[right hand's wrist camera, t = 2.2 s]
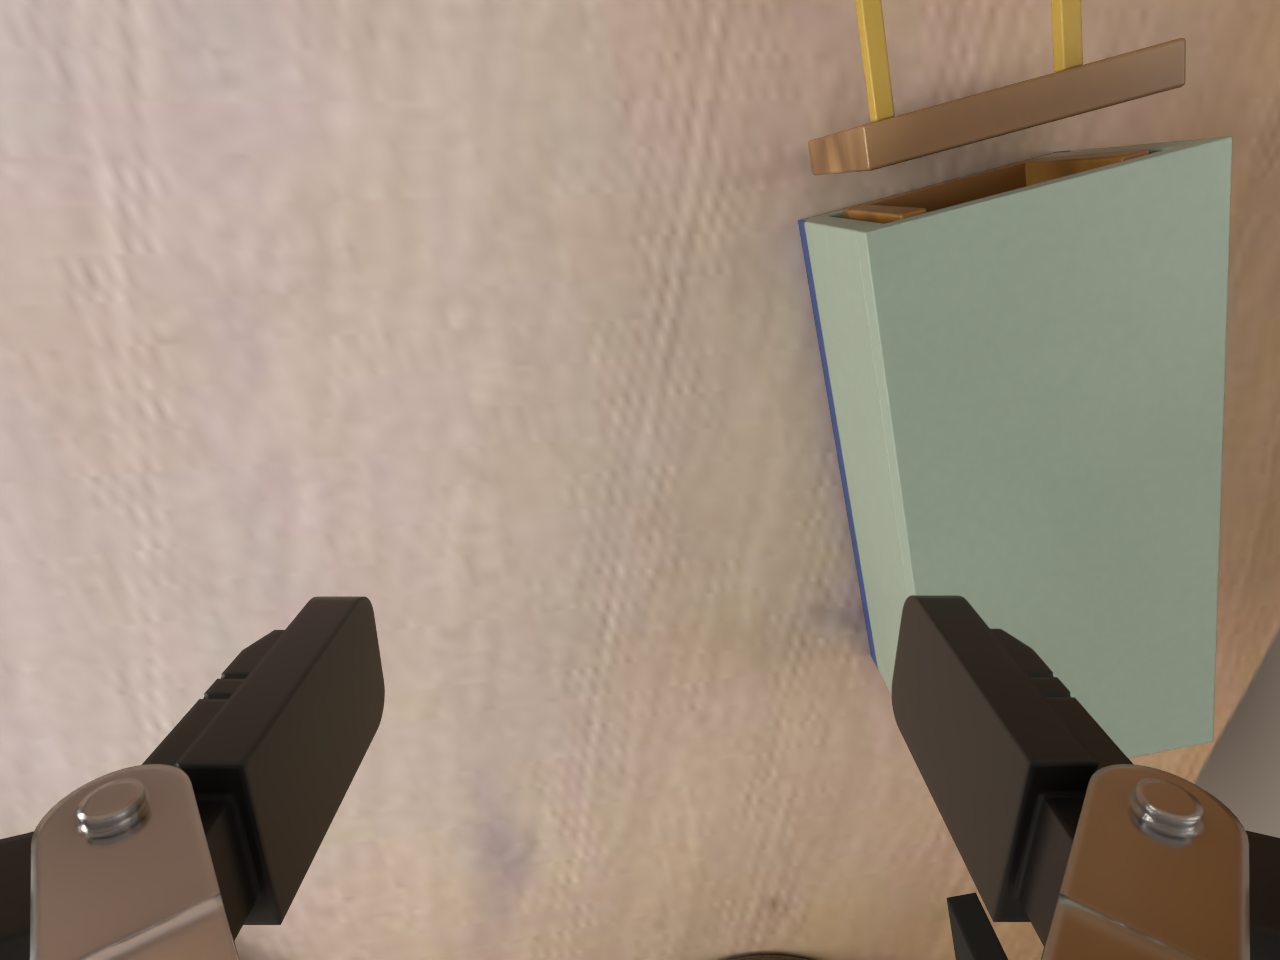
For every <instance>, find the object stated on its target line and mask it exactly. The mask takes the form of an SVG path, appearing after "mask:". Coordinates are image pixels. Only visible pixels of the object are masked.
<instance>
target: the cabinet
mask: <svg viewBox="0 0 1280 960" xmlns="http://www.w3.org/2000/svg"><path fill="white" fill-rule="evenodd" d="M1232 144H1233V138H1232V137H1220V138H1209V139H1199V140H1188V141H1177V142H1166V143H1155V144H1144V145H1133V146H1122V147H1111V148H1100V149H1089V150H1078V151H1061V152H1054V153H1052V154H1048V155H1044V156H1041V157H1037V158H1047V157H1059V156H1072V155H1084V154H1096V153H1109V152H1121V151H1133V150H1149V154H1148V155H1144V156H1141V157H1137V158H1133V159H1129V160H1125V161H1122V162H1118V163H1114V164H1110V165H1106V166H1102V167H1099V168H1095V169H1091V170H1087V171H1083V172H1080V173H1076V174H1072V175H1068V176H1064V177H1061V178H1057V179H1053V180H1049V181H1045V182H1042V183H1038V184H1034V185H1030V186H1026V187H1023V188H1019V189H1015V190H1011V191H1007V192H1004V193H1000V194H996V195H992V196H988V197H985V198H981V199H977V200H973V201H969V202H966V203H962V204H958V205H954V206H950V207H946V208H943V209H939V210H935V211H931V212H927V213H924V214H920V215H916V216H912V217H908V218H905V219H901V220H897V221H893V222H889V223H886V224H882V223H875V222H867V221H860V220H852V219H844V216H843V209H841V210H837V211H834V212H830V213H826V214H822V215H819V216H815V217H811V218H807V219H804V220H798V223H799V229H800V235H801V241H802V247H803V253H804V259H805V265H806V270H807V276H808V282H809V288H810V294H811V300H812V306H813V312H814V318H815V324H816V330H817V336H818V342H819V348H820V354H821V360H822V366H823V372H824V378H825V384H826V390H827V395H828V401H829V407H830V413H831V419H832V425H833V431H834V437H835V443H836V449H837V455H838V461H839V467H840V473H841V479H842V485H843V491H844V497H845V503H846V509H847V515H848V520H849V526H850V532H851V538H852V544H853V550H854V556H855V562H856V568H857V574H858V580H859V586H860V592H861V598H862V604H863V610H864V616H865V622H866V628H867V634H868V640H869V645H870V651H871V657H872V659H873V661H874V663H875V665H876V666H877V668H878V669H879V671H880V673H881V675H882V677H883V679H884V681H885V683H886V685H887V687H888V689H889V691H890V693H891V695H892V679H893V672H894V665H895V658H896V651H897V644H898V637H899V630H900V623H901V616H902V610H903V606H904V603H905V601H906V599H907V598H908V597H909V596H911V595H959V596H962V597H964V598H965V599H966V600H967V601H968V602H969V603H970V605H971V606H972V607H973V608H974V610H975V611H976V612H977V613H978V615H979V616H980V617H981V618H982V619H983V621H984V622H985V623H986V624H987V626H988V627H989V628H990V629H1002V630H1004V631H1005V632H1007V633H1008V634H1010V635H1012V636H1013V637H1015V638H1016V639H1018V640H1019V641H1021V642H1023V643H1024V644H1026V645H1027V646H1029V647H1030V648H1032V649H1033V650H1034V651H1035V652H1036V653H1037V654H1038V656H1039V657H1040V658H1041V659H1042V660H1043V661H1044V662H1045V664H1046V665H1047V666H1048V667H1049V668H1050V669H1051V671H1052V672H1053V676H1054V677H1058V679H1059V680H1060V681H1061V682H1062V683H1063V684H1064V685H1065V687H1066V688H1067V689H1068V690H1069V691H1070V695H1071V697H1075V698H1076V699H1077V700H1078V701H1079V703H1080V704H1081V705H1082V706H1083V707H1084V708H1085V709H1086V711H1087V712H1088V713H1089V714H1090V715H1091V716H1092V718H1093V719H1094V720H1095V721H1096V722H1097V723H1098V724H1099V726H1100V727H1101V728H1102V729H1103V730H1104V731H1105V732H1106V734H1107V735H1108V736H1109V737H1110V738H1111V739H1112V740H1113V742H1114V743H1115V744H1116V745H1117V746H1118V747H1119V748H1120V750H1121V751H1122V752H1123V753H1124V754H1125V755H1126V756H1127V758H1133V757H1138V756H1143V755H1148V754H1153V753H1158V752H1163V751H1169V750H1174V749H1179V748H1184V747H1189V746H1194V745H1199V744H1204V743H1209V742H1213V730H1214V699H1215V668H1216V637H1217V607H1218V576H1219V545H1220V514H1221V483H1222V452H1223V421H1224V391H1225V360H1226V329H1227V298H1228V267H1229V236H1230V206H1231V175H1232ZM1033 159H1034V158H1033ZM1029 160H1030V159H1029ZM1025 161H1026V160H1025ZM1022 162H1023V161H1022ZM1018 163H1019V162H1018ZM1014 164H1015V163H1014ZM1010 165H1011V164H1010ZM1007 166H1008V165H1007ZM1003 167H1004V166H1003ZM999 168H1000V167H999ZM995 169H996V168H995ZM992 170H993V169H992ZM988 171H989V170H988ZM984 172H985V171H984ZM980 173H981V172H980ZM973 175H974V174H973ZM969 176H970V175H969ZM965 177H966V176H965ZM958 179H959V178H958ZM954 180H955V179H954ZM950 181H951V180H950ZM946 182H947V181H946ZM943 183H944V182H943ZM939 184H940V183H939ZM935 185H936V184H935ZM931 186H932V185H931ZM928 187H929V186H928ZM924 188H925V187H924ZM920 189H921V188H920ZM916 190H917V189H916ZM913 191H914V190H913ZM909 192H910V191H909ZM905 193H906V192H905ZM901 194H902V193H901ZM894 196H895V195H894ZM890 197H891V196H890ZM886 198H887V197H886ZM879 200H880V199H879ZM875 201H876V200H875ZM871 202H872V201H871ZM867 203H868V202H867ZM864 204H865V203H864ZM860 205H861V204H860ZM856 206H857V205H856ZM852 207H853V206H852ZM849 208H850V207H849ZM845 209H846V208H845Z"/></svg>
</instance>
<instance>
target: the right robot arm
mask: <svg viewBox="0 0 1280 960" xmlns="http://www.w3.org/2000/svg"><path fill="white" fill-rule="evenodd" d="M384 695H385V690H384V679H383V672H382V666H381V659H380V652H379V645H378V638H377V631H376V625H375V618H374V612H373V607H372V604H371V602H370V600H369V599H368V598H367V597H314V598H312V599H311V600H310V601H309V602H308V603H307V604H306V605H305V607H304V608H303V609H302V610H301V611H300V613H299V614H298V615H297V616H296V618H295V619H294V620H293V621H292V622H291V624H290V625H289V626H288V627H287V628H286V630H274V631H272V632H271V633H269V634H268V635H266V636H264V637H263V638H261V639H260V640H258V641H257V642H255V643H253V644H252V645H250V646H249V647H247V648H245V649H244V650H242V652H241V653H240V654H239V655H238V656H237V657H236V658H235V659H234V661H233V662H232V663H231V664H230V665H229V666H228V667H227V669H226V670H225V671H224V672H223V673H222V677H221V679H217V680H216V681H215V682H214V683H213V684H212V686H211V687H210V688H209V689H208V690H207V691H206V692H205V694H204V699H199V700H198V701H197V703H196V704H195V705H194V706H193V707H192V708H191V709H190V711H189V712H188V713H187V714H186V715H185V716H184V717H183V719H182V720H181V721H180V722H179V723H178V724H177V725H176V726H175V728H174V729H173V730H172V731H171V732H170V733H169V734H168V736H167V737H166V738H165V739H164V740H163V741H162V742H161V744H160V745H159V746H158V747H157V748H156V749H155V750H154V751H153V753H152V754H151V755H150V756H149V757H148V758H147V759H146V761H145V762H144V763H143V764H142V765H139V766H133V767H129V768H125V769H121V770H118V771H115V772H112V773H109V774H107V775H104V776H102V777H99V778H97V779H95V780H93V781H91V782H89V783H87V784H85V785H83V786H81V787H80V788H78V789H77V790H75V791H73V792H72V793H70V794H69V795H67V796H66V797H65V798H63V799H62V800H61V801H59V802H58V803H57V804H56V805H55V806H54V807H53V808H51V809H50V811H49V812H48V813H47V814H46V815H45V816H44V817H43V818H42V820H41V821H40V823H39V824H38V825H37V827H36V829H35V831H34V832H30V833H27V834H22V835H18V836H13V837H9V838H5V839H0V960H239V957H238V954H237V950H236V946H235V943H234V940H235V939H236V937H237V935H238V933H239V931H240V929H241V928H242V926H243V925H281V923H282V921H283V919H284V917H285V915H286V913H287V911H288V909H289V907H290V905H291V903H292V901H293V899H294V897H295V895H296V893H297V891H298V889H299V887H300V885H301V883H302V881H303V879H304V877H305V875H306V873H307V871H308V869H309V867H310V865H311V863H312V861H313V859H314V856H315V854H316V852H317V850H318V848H319V846H320V844H321V842H322V840H323V838H324V836H325V834H326V832H327V830H328V828H329V826H330V824H331V822H332V820H333V818H334V816H335V814H336V812H337V810H338V808H339V806H340V804H341V802H342V800H343V798H344V796H345V794H346V792H347V790H348V788H349V786H350V784H351V782H352V780H353V778H354V776H355V774H356V772H357V770H358V768H359V766H360V764H361V762H362V760H363V758H364V755H365V753H366V751H367V749H368V747H369V745H370V743H371V741H372V739H373V737H374V735H375V733H376V731H377V729H378V727H379V724H380V721H381V717H382V713H383V707H384ZM892 705H893V711H894V715H895V719H896V722H897V725H898V727H899V730H900V732H901V734H902V736H903V738H904V740H905V742H906V744H907V746H908V748H909V750H910V752H911V754H912V756H913V758H914V760H915V762H916V764H917V766H918V768H919V771H920V773H921V775H922V777H923V779H924V781H925V783H926V785H927V787H928V789H929V791H930V793H931V795H932V797H933V799H934V801H935V803H936V805H937V807H938V809H939V811H940V813H941V815H942V818H943V820H944V822H945V824H946V826H947V828H948V830H949V832H950V834H951V836H952V838H953V840H954V842H955V844H956V846H957V848H958V850H959V852H960V854H961V856H962V858H963V860H964V863H965V865H966V867H967V869H968V871H969V873H970V875H971V877H972V879H973V881H974V883H975V885H976V887H977V889H978V891H979V893H980V895H981V897H982V899H983V901H984V903H985V905H986V908H987V910H988V912H989V914H990V916H991V918H992V920H993V922H1031V923H1032V925H1033V927H1034V929H1035V931H1036V932H1037V934H1038V936H1039V938H1040V940H1041V942H1042V944H1043V945H1044V950H1043V954H1042V957H1041V960H1280V838H1276V837H1272V836H1268V835H1263V834H1259V833H1254V832H1250V831H1246V830H1245V829H1244V827H1243V826H1242V824H1241V823H1240V821H1239V820H1238V818H1237V817H1236V816H1235V815H1234V814H1233V813H1232V812H1231V811H1230V809H1229V808H1227V807H1226V806H1225V805H1224V804H1223V803H1222V802H1221V801H1219V800H1218V799H1217V798H1215V797H1214V796H1212V795H1211V794H1210V793H1208V792H1207V791H1205V790H1203V789H1202V788H1200V787H1199V786H1197V785H1195V784H1193V783H1191V782H1189V781H1187V780H1185V779H1183V778H1181V777H1178V776H1176V775H1173V774H1171V773H1168V772H1165V771H1162V770H1159V769H1155V768H1151V767H1147V766H1141V765H1134V764H1133V763H1132V762H1131V761H1130V760H1129V759H1128V758H1127V756H1126V755H1125V754H1124V753H1123V752H1122V751H1121V750H1120V748H1119V747H1118V746H1117V745H1116V744H1115V743H1114V742H1113V740H1112V739H1111V738H1110V737H1109V736H1108V735H1107V734H1106V732H1105V731H1104V730H1103V729H1102V728H1101V727H1100V726H1099V724H1098V723H1097V722H1096V721H1095V720H1094V719H1093V718H1092V716H1091V715H1090V714H1089V713H1088V712H1087V711H1086V709H1085V708H1084V707H1083V706H1082V705H1081V704H1080V703H1079V701H1078V700H1077V699H1076V698H1075V697H1071V695H1070V691H1069V690H1068V689H1067V688H1066V687H1065V685H1064V684H1063V683H1062V682H1061V681H1060V680H1059V679H1058V677H1054V676H1053V672H1052V671H1051V669H1050V668H1049V667H1048V666H1047V665H1046V664H1045V662H1044V661H1043V660H1042V659H1041V658H1040V657H1039V656H1038V654H1037V653H1036V652H1035V651H1034V650H1033V649H1032V648H1030V647H1029V646H1027V645H1026V644H1024V643H1023V642H1021V641H1019V640H1018V639H1016V638H1015V637H1013V636H1012V635H1010V634H1008V633H1007V632H1005V631H1004V630H1002V629H990V628H989V627H988V626H987V624H986V623H985V622H984V621H983V619H982V618H981V617H980V616H979V615H978V613H977V612H976V611H975V610H974V608H973V607H972V606H971V605H970V603H969V602H968V601H967V600H966V599H965V598H964V597H962V596H959V595H911V596H909V597H908V598H907V599H906V601H905V603H904V606H903V610H902V616H901V623H900V630H899V637H898V644H897V651H896V658H895V665H894V672H893V679H892Z"/></svg>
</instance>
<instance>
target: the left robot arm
mask: <svg viewBox="0 0 1280 960" xmlns="http://www.w3.org/2000/svg"><path fill="white" fill-rule="evenodd" d="M947 903H948V910H949V916H950V923H951V930H952V936H953V943H954V950H955V956H956V960H1008V958H1007V956H1006V954H1005V952H1004V950H1003V948H1002V946H1001V944H1000V942H999V940H998V938H997V936H996V934H995V932H994V930H993V928H992V925H991V923H990V921H989V919H988V917H987V915H986V913H985V911H984V909H983V907H982V905H981V903H980V901H979V899H978V897H977V895H976V893H971V894H966V895H960V896H955V897H950V898H947ZM728 960H808V959H804V958H799V957H791V956H781V955H755V956H745V957H738V958H733V959H728Z"/></svg>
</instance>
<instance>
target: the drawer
mask: <svg viewBox="0 0 1280 960" xmlns="http://www.w3.org/2000/svg"><path fill="white" fill-rule="evenodd" d="M855 2H856V10H857V18H858V25H859V33H860V41H861V49H862V57H863V64H864V72H865V80H866V88H867V96H868V103H869V111H870V119H871V122H872V123H870V124H867V125H863V126H860V127H856V128H853V129H849V130H846V131H842V132H839V133H835V134H832V135H828V136H825V137H821V138H818V139H814V140H811V141H809V142H808V147H809V153H810V159H811V166H812V172H813V175H824V174H835V173H847V172H858V171H870V170H874V169H878V168H882V167H885V166H889V165H893V164H896V163H900V162H904V161H908V160H911V159H915V158H919V157H922V156H926V155H930V154H934V153H937V152H941V151H945V150H948V149H952V148H956V147H960V146H963V145H967V144H971V143H974V142H978V141H982V140H986V139H989V138H993V137H997V136H1000V135H1004V134H1008V133H1011V132H1015V131H1019V130H1023V129H1026V128H1030V127H1034V126H1037V125H1041V124H1045V123H1049V122H1052V121H1056V120H1060V119H1063V118H1067V117H1071V116H1075V115H1078V114H1082V113H1086V112H1089V111H1093V110H1097V109H1101V108H1104V107H1108V106H1112V105H1115V104H1119V103H1123V102H1127V101H1130V100H1134V99H1138V98H1141V97H1145V96H1149V95H1153V94H1156V93H1160V92H1164V91H1167V90H1171V89H1175V88H1179V87H1181V86H1183V85H1184V84H1185V44H1186V41H1185V39H1184V38H1180V39H1176V40H1172V41H1169V42H1165V43H1161V44H1158V45H1154V46H1150V47H1147V48H1143V49H1140V50H1136V51H1132V52H1129V53H1125V54H1121V55H1118V56H1114V57H1110V58H1107V59H1103V60H1100V61H1096V62H1092V63H1089V64H1085V65H1082V64H1083V54H1082V24H1081V0H1051V8H1052V30H1053V52H1054V71H1055V72H1056V73H1052V74H1049V75H1045V76H1041V77H1038V78H1034V79H1030V80H1027V81H1023V82H1019V83H1016V84H1012V85H1009V86H1005V87H1001V88H998V89H994V90H990V91H987V92H983V93H979V94H976V95H972V96H968V97H965V98H961V99H958V100H954V101H950V102H947V103H943V104H939V105H936V106H932V107H928V108H925V109H921V110H918V111H914V112H910V113H907V114H903V115H899V116H896V117H894V107H893V98H892V90H891V81H890V73H889V64H888V56H887V47H886V39H885V30H884V22H883V13H882V5H881V0H855ZM1148 154H1149V150H1133V151H1121V152H1109V153H1096V154H1084V155H1072V156H1059V157H1047V158H1034V159H1030V160H1026V161H1023V162H1019V163H1015V164H1011V165H1008V166H1004V167H1000V168H996V169H993V170H989V171H985V172H981V173H977V174H974V175H970V176H966V177H962V178H959V179H955V180H951V181H947V182H944V183H940V184H936V185H932V186H929V187H925V188H921V189H917V190H914V191H910V192H906V193H902V194H898V195H895V196H891V197H887V198H883V199H880V200H876V201H872V202H868V203H865V204H861V205H857V206H853V207H850V208H846V209H843V216H844V219H852V220H860V221H867V222H875V223H882V224H886V223H889V222H893V221H897V220H901V219H905V218H908V217H912V216H916V215H920V214H924V213H927V212H931V211H935V210H939V209H943V208H946V207H950V206H954V205H958V204H962V203H966V202H969V201H973V200H977V199H981V198H985V197H988V196H992V195H996V194H1000V193H1004V192H1007V191H1011V190H1015V189H1019V188H1023V187H1026V186H1030V185H1034V184H1038V183H1042V182H1045V181H1049V180H1053V179H1057V178H1061V177H1064V176H1068V175H1072V174H1076V173H1080V172H1083V171H1087V170H1091V169H1095V168H1099V167H1102V166H1106V165H1110V164H1114V163H1118V162H1122V161H1125V160H1129V159H1133V158H1137V157H1141V156H1144V155H1148Z"/></svg>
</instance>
